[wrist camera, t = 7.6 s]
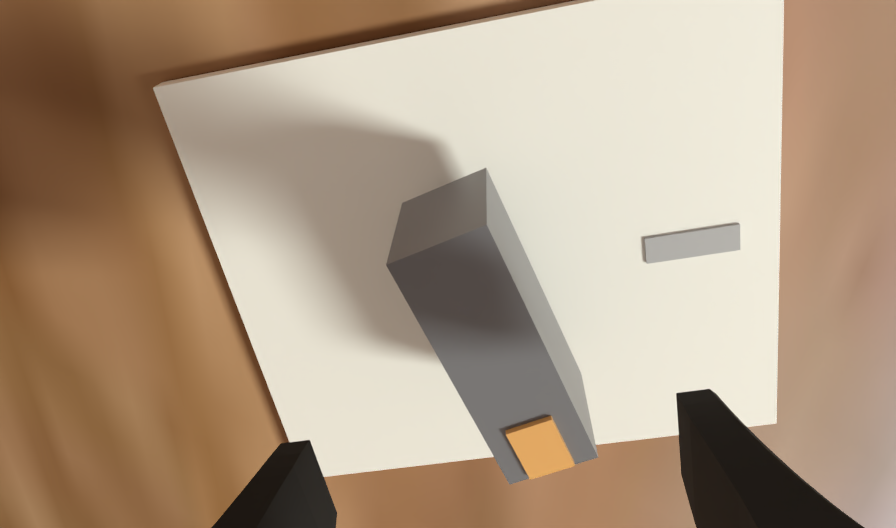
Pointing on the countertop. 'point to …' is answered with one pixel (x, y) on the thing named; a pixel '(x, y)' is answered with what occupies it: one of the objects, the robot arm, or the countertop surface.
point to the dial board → (526, 202)
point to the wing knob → (492, 327)
